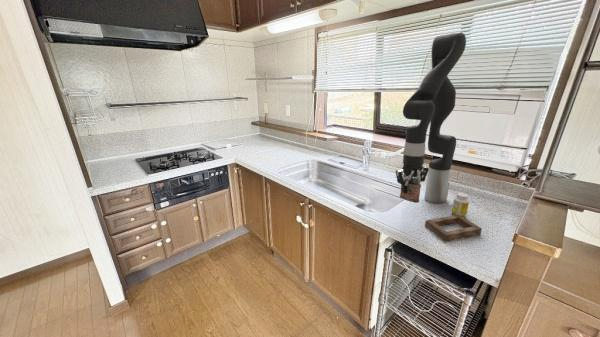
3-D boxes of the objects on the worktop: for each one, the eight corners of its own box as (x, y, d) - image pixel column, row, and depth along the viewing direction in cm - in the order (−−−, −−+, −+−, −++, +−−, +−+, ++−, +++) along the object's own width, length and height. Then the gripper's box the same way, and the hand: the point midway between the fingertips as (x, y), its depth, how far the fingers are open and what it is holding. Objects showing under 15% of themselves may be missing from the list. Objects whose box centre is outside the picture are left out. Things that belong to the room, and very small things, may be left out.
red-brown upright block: (398, 197, 104) (400, 176, 101) (401, 195, 106) (403, 173, 103) (417, 203, 99) (419, 181, 95) (420, 200, 101) (423, 178, 97)
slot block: (457, 220, 105) (458, 214, 104) (480, 235, 95) (481, 228, 94) (424, 226, 102) (425, 220, 101) (445, 242, 92) (446, 235, 91)
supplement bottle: (467, 214, 109) (471, 194, 106) (464, 219, 105) (468, 198, 102) (453, 210, 113) (456, 190, 109) (449, 215, 109) (453, 195, 105)
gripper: (423, 148, 100) (419, 185, 106) (392, 152, 98) (389, 190, 103) (436, 153, 93) (431, 193, 99) (403, 157, 91) (400, 198, 97)
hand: (409, 191), depth 101 cm, fingers closed on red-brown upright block, 4 cm apart
